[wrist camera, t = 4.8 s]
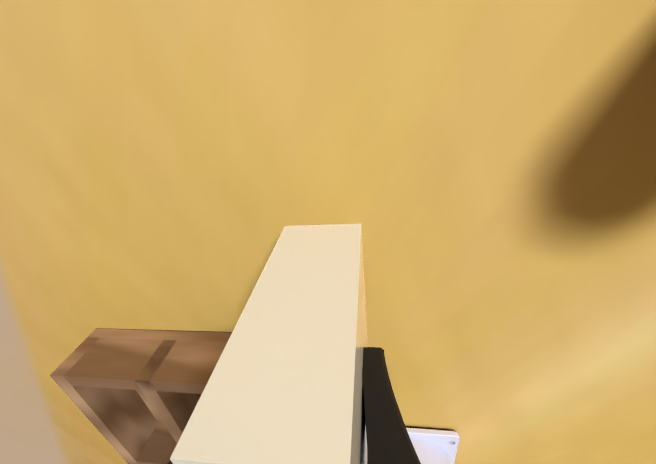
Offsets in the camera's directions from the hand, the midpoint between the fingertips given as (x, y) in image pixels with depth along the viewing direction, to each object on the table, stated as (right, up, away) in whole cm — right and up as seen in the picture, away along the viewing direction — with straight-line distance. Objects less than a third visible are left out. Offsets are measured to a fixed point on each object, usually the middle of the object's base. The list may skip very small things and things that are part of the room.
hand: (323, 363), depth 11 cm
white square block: (0, +2, +3) cm, 3 cm away
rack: (-10, -7, +13) cm, 18 cm away
